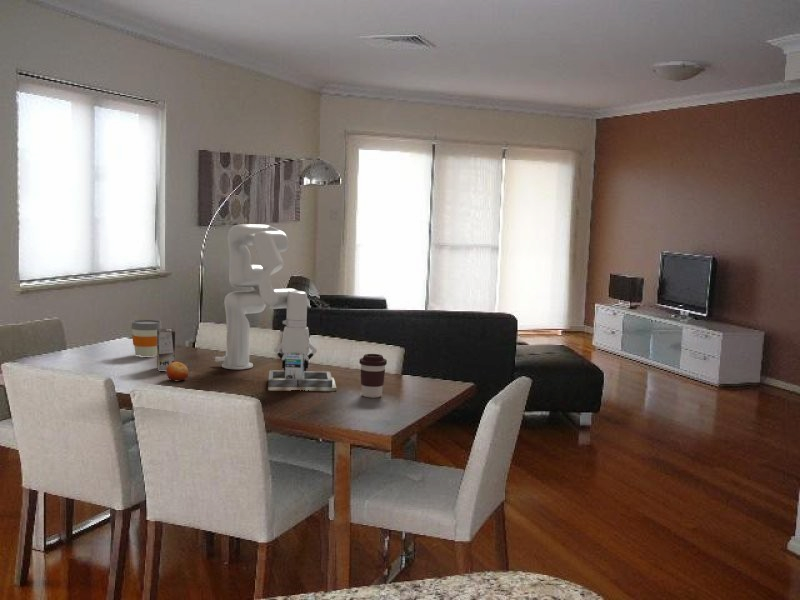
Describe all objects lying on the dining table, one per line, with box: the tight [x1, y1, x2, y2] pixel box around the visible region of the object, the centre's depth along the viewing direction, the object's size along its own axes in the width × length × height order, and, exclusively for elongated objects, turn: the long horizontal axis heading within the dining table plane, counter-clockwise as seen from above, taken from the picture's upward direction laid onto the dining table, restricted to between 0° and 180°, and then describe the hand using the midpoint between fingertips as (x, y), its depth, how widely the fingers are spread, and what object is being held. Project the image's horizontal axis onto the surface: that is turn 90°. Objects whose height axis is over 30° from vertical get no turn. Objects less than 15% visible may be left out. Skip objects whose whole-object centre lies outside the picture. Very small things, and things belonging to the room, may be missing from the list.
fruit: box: [166, 361, 189, 381], centre depth 306 cm, size 8×8×8 cm
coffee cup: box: [359, 353, 388, 399], centre depth 294 cm, size 10×10×15 cm
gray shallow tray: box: [267, 369, 337, 392], centre depth 307 cm, size 25×18×4 cm
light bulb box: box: [285, 353, 305, 380], centre depth 306 cm, size 11×7×11 cm, turn 2°
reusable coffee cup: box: [131, 319, 163, 356], centre depth 350 cm, size 13×12×15 cm
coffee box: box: [156, 327, 176, 371], centre depth 324 cm, size 9×6×16 cm
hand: (295, 369), depth 306 cm, fingers closed on light bulb box, 7 cm apart
